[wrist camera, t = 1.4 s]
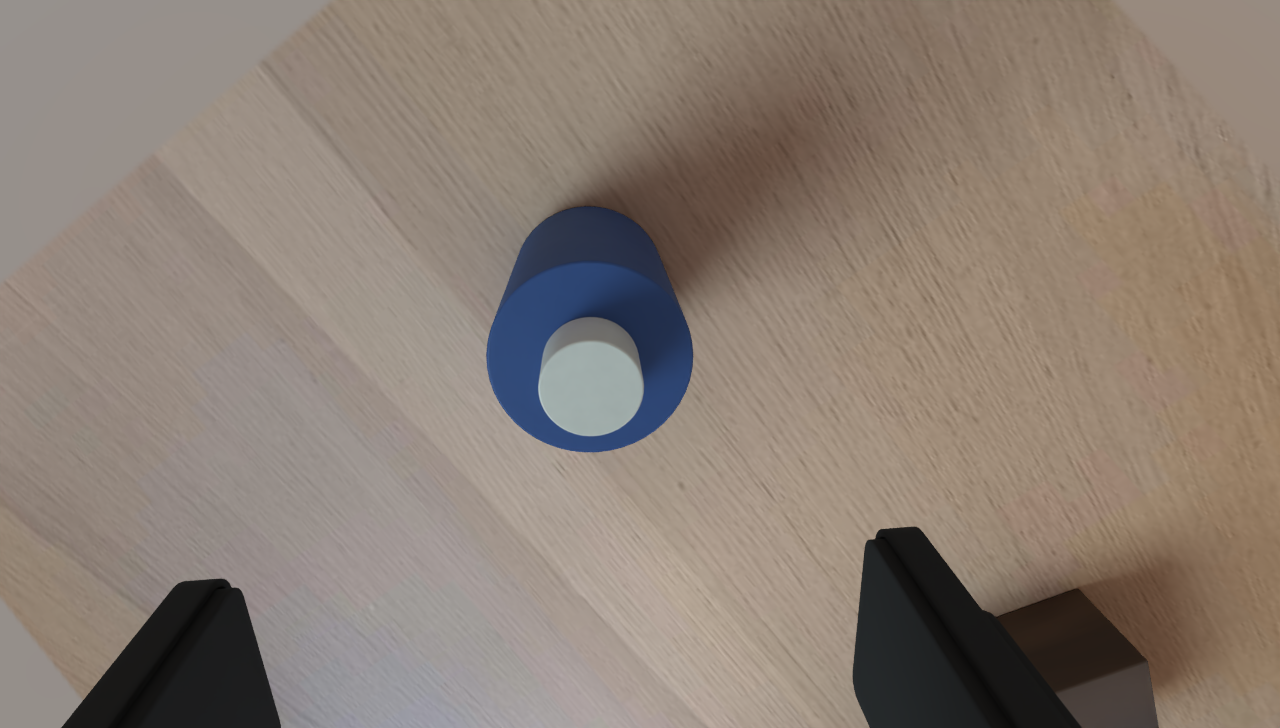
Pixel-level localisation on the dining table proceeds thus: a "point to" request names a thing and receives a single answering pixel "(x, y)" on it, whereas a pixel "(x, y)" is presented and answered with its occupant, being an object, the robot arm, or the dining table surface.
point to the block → (1085, 661)
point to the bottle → (589, 334)
